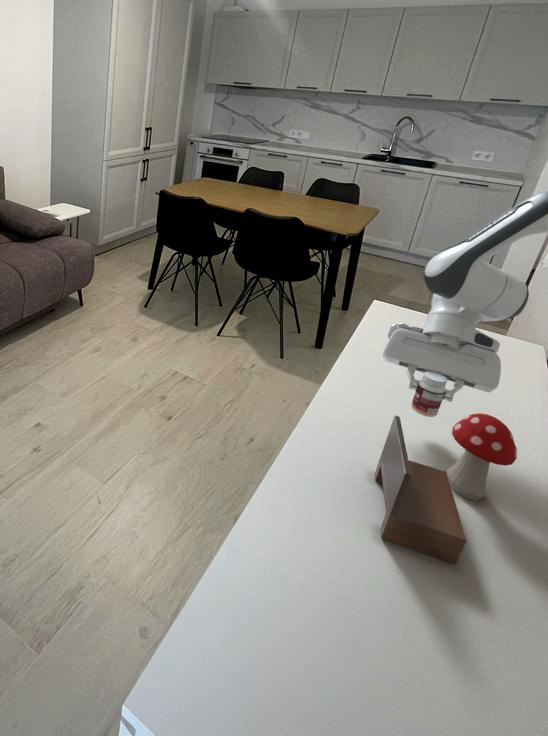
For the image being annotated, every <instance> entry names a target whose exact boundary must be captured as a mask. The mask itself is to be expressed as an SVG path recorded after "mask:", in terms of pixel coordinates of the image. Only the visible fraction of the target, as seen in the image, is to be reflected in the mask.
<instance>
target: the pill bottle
mask: <svg viewBox="0 0 548 736" xmlns="http://www.w3.org/2000/svg"><path fill="white" fill-rule="evenodd" d="M418 381H419V384H418V387H417V390H415V391H414V394H413V395H414V396H413V398H412V401H411V404H410V408H411V409H412V410H413V412H415V413H416V414H419V415H421V416H423V417H427V418H435V417H437V415H438V413H439V410H440V408H441V406H442V402H443V400H444V399H443V397H444V395H445V392H446V390H447V388H446V386H447V382H448V380H447V378H446V377H445V376H443V375H441V374H439V373H436V372H432V371H427V372H425V373H423V375H422V379H419V380H418Z"/></svg>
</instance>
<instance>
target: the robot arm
mask: <svg viewBox="0 0 548 736" xmlns="http://www.w3.org/2000/svg"><path fill="white" fill-rule="evenodd" d="M537 234H548V190H546V191H541V192H538V193H536V194H534V195H531V196H530V197H527V198H526V199H524V200H523V201H521V202H520V203H518V204H516V205H515V206H513V207H512V208H510V209H508V210H507V211H505V212H504V213H502V214H501V215H499V216H498V217H496V218H494V219H493V220H491V221H490V222H488V223H487V224H485V225H484V226H482V227H481V228H479V229H478V230H476V231H475V232H473V233H471V234H470V235H469V236H467V237H466V238H463V239H462V240H460V241H459V242H457V243H455V244H453V245H451V246H448V247H447V248H445V249H442V250H441V251H439V252H438V253H436V254H435V255H433V256H432V257H431V258H430V259H429V260H428V261H427V262H426V264H425V266H424V269H423V280H424V283H425V286H426V288H427V290H428V292H430V293H432V294H433V295H432V297H431V301H430V303H431V309H430V311H429V312H428V314H427V315H426V317H425V321H424V324H423V327H422V328H421V327H418V326H413V325H409V324H405V323H403V322H402V323H401V322H399V323H396V324H395V323H394V324H392V325H391V326H389V328H388V331H387V337H388V340H387V343H386V344H385V347H384V350H383V353H382V358H383V360H384V361H385V362H387V363H390V364H394V365H397V366H400V367H403V368H406V375H407V377H408V380H409V384H408V386H407V388H408V389H410V390H413V391H416V390H417V387H418V384H419V381H420V380H418V379H415V376H414V374H415V373H416V372H419V373H423V374H424V373H425V372H427V371H432V372H436V373H439V374H441V375H443V376H445V377H446V378H447V382H448V381H449V382H452V383H453V385H452V387H453V389H451V390H450V389H446V392H445V395H444V397H443V400H444V401H447V402H449V403H451V402H452V401H453V399H454V396H455V395H456V394H457V393H458V392H460V391H461V390H462V389H463V387H469V388H472V389H475V390H478V391H481V392H485V393H487V394H489V393H492V392H493V391H496V390H497V388H498V387H499V384H500V380H501V373H502V372H501V371H502V360H501V358H500V356H499V355H498V352H499V350H500V346H501V344H500V342H499V341H498V340H497V339H495V338H493V337H492V336H489V335H487V334H485V333H483V332H482V331H480V330H479V329H477V328H476V326H477V323H479V322H483V323H495V322H502V321H503V322H504V321H508V320H511V319H514V318H516V317H517V316H520V314H522V312H523V311H524V309H525V308H526V306H527V304H528V301H529V295H530V293H529V288H528V285H527V283H526V282H525V281H523V280H521V279H520V278H518V277H517V276H514V275H513V274H511V273H509V272H507V271H505V270H503V269H501V268H498V267H497V266H495V265H493V264H491V263H489V262H488V261H486V260H489V259H490V258H492V257H493V256H494V255H496V254H498V253H499V252H501V251H503V250H504V249H506V248H508V247H509V246H511V245H513V244H515V243H516V242H518V241H520V240H521V239H523V238H525V237H529V236H532V235H537Z"/></svg>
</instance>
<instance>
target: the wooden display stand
mask: <svg viewBox="0 0 548 736" xmlns="http://www.w3.org/2000/svg"><path fill="white" fill-rule="evenodd" d="M405 441H406V440H405V436H404V432H403V427H402V421H401V416H400V415H399V416H398V415H394V416H393V419H392V422H391V425H390V428H389V430H388V433H387V435H386V440H385V442H384V445H383V449H382V451H381V454H380V457H379V460H378V463H377V465H376V468H375V471H374V480H375V481H376V482H378V483H380V484H382V489H383V495H384V496H383V497H384V505H385V515H384V518H383V521H382V523H381V526H380V528H379V532H380V539H382V540H384V541H387V542H390V543H392V544H396V545H398V546H401V547H404V548H407V549H409V550H413V551H415V552H417V553H419V554H423V555H425V556H429V557H431V558H433V559H437V560H440V561H442V562H445V563H448V564H450V565H454V566H456V565H457V563H458V561H459V558H460V556H461V554H462V552H463V550H464V547H465V545H466V543H467V541H468V540H467V537H466V534H465V530H464V527H463V524H462V520H461V517H460V514H459V510H458V508H457V503H456V500H455V496H454V493H453V490H452V487H451V486H450V483H449V480H448V476H447V470H442V469H439V468H436V467H433V466H429V465H426V464H423V463H419V462H416V461H413V460H410V459H409V457H408V451H407V446H406V442H405Z"/></svg>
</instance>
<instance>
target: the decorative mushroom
mask: <svg viewBox="0 0 548 736" xmlns="http://www.w3.org/2000/svg"><path fill="white" fill-rule="evenodd" d="M451 435H452V437H453V439H454V440H455V442H456V443H457V444H458V445H459V446H460V447H462V448H463V449H464V452H463V453H462V454H461V455H460V457H459V458H458V459H457V461H456V462H455V463H454V465H451V467H449V468H447V470H446V473H447V476H448V480H449V483H450V486H451V489H453V490H454V491H455V492H456V493H458V494H459V495H461V496H462V497H465V499H469V500H471V501H481V500H482V499H483V498H485V497H486V496H487V494H488V489H487V479H488V476H489V475H488V474H489V469H490V464H493V465H498V466H505V467H507V466H511V465H513V464H514V463H515V461H516V460H517V458H518V450H517V449H518V448H517V446H516V443H515V439H514V436H513V434H512V432H511V430H510V429H509V427H508V426H507V425H506V424H505V423H504V422H503V421H502V420H500V419H498V417H495V416H492V415H490V414H486V413H482V412H481V413H480V412H479V413H471V414H469V415H466V416H465V417H464V418H462V419H461V420H459V421H457V423H455V424H454V425H453V426H452V430H451Z"/></svg>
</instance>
